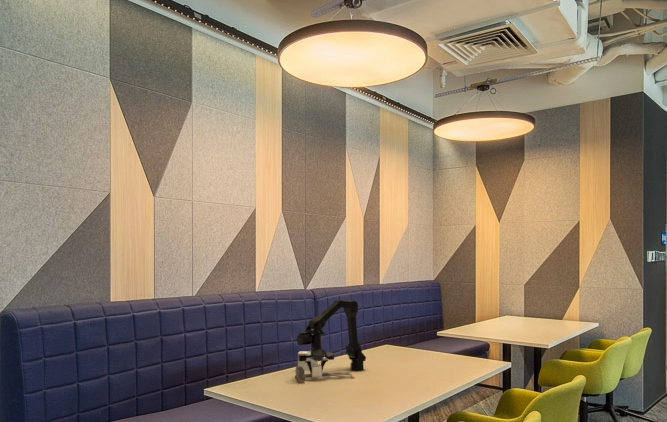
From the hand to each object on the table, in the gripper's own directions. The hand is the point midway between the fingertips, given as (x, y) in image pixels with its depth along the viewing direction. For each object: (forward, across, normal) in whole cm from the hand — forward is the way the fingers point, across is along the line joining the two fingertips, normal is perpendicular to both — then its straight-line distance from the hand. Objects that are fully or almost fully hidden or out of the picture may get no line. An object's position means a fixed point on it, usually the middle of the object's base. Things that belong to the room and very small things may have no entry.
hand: (316, 373), depth 274 cm
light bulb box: (+3, -2, +19) cm, 19 cm away
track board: (+3, +4, 0) cm, 5 cm away
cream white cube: (+2, 0, 0) cm, 2 cm away
